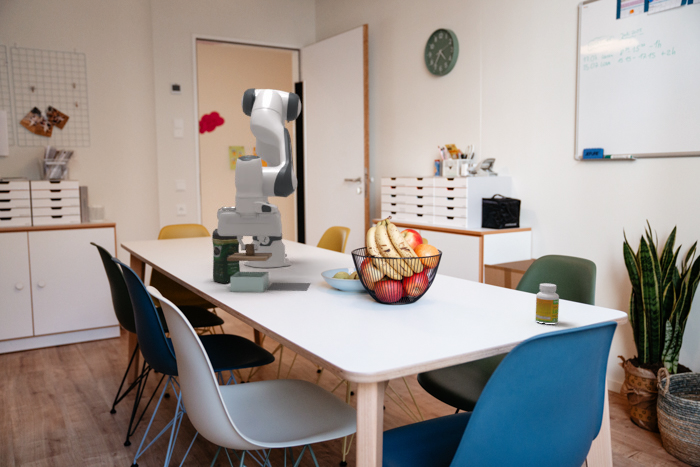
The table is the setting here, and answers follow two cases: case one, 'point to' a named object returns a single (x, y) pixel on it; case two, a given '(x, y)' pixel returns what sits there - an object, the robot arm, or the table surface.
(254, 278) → the mint green open box
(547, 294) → the supplement bottle
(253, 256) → the lid
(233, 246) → the coffee jar
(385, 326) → the table surface
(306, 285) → the mat
